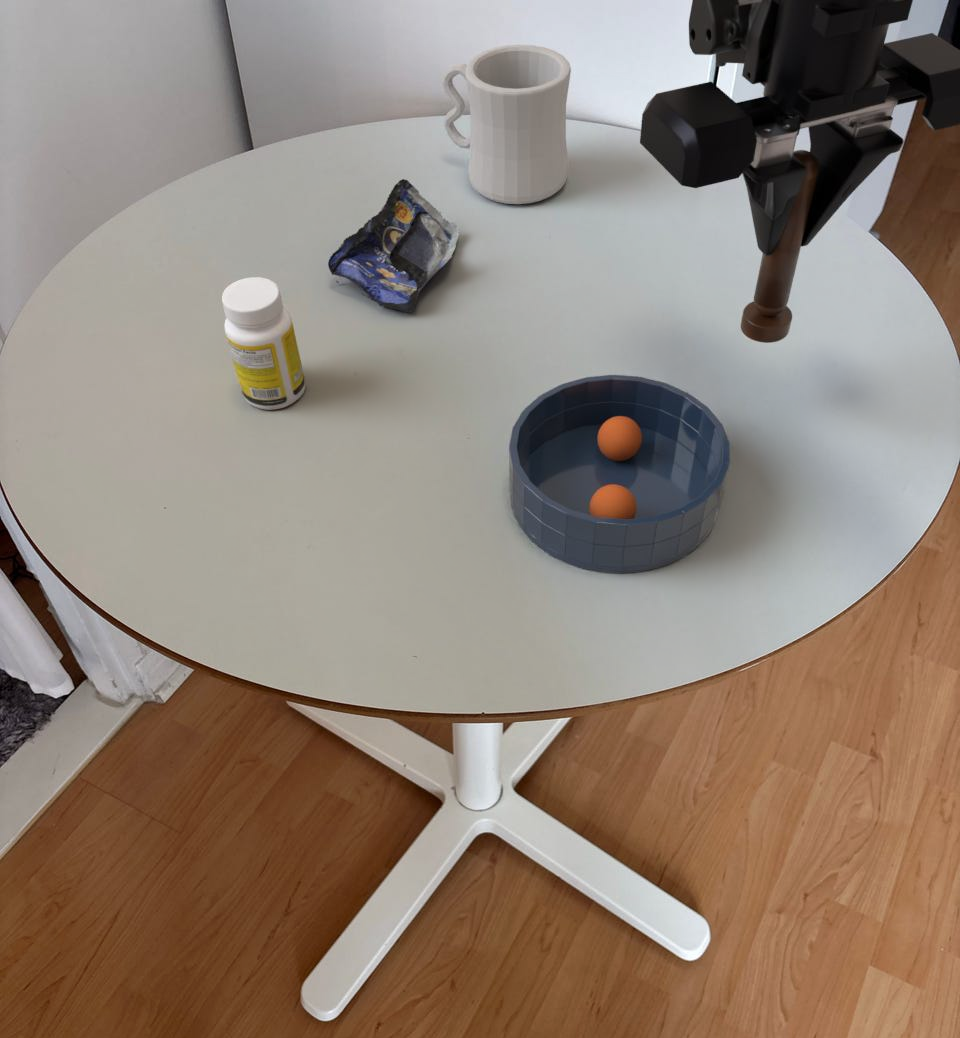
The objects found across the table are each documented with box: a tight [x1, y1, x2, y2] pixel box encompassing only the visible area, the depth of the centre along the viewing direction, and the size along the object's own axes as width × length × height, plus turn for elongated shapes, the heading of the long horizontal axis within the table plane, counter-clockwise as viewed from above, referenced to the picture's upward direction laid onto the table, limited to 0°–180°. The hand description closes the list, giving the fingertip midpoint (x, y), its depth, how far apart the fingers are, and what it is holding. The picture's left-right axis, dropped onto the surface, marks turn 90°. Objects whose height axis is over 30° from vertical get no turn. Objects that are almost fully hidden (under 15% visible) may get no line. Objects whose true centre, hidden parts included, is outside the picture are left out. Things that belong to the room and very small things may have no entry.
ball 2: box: [589, 484, 636, 519], centre depth 65 cm, size 3×3×3 cm
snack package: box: [327, 178, 460, 314], centre depth 84 cm, size 12×6×12 cm
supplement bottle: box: [221, 276, 306, 411], centre depth 73 cm, size 5×5×8 cm
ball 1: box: [597, 416, 642, 461], centre depth 69 cm, size 3×3×3 cm
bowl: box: [508, 374, 731, 574], centre depth 67 cm, size 14×14×4 cm
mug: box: [441, 44, 572, 205], centre depth 90 cm, size 12×9×10 cm
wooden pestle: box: [740, 149, 819, 344], centre depth 64 cm, size 3×3×12 cm
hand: (782, 247), depth 64 cm, fingers closed on wooden pestle, 2 cm apart
